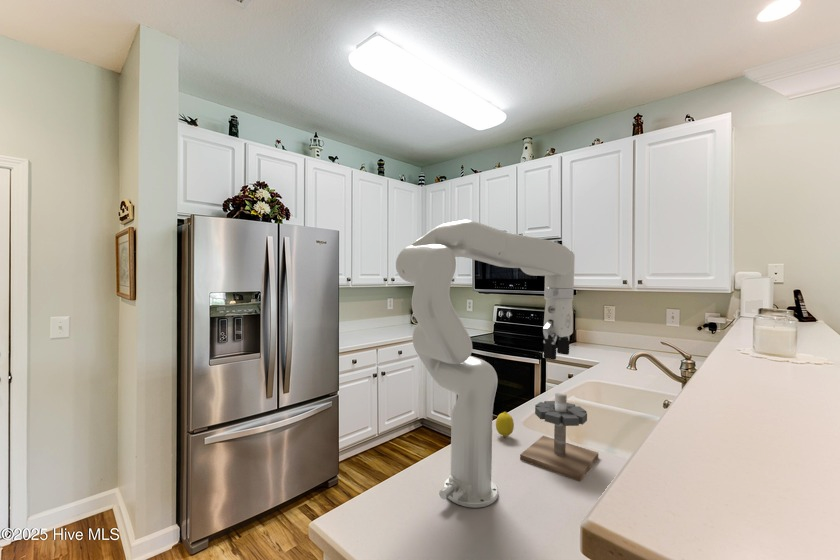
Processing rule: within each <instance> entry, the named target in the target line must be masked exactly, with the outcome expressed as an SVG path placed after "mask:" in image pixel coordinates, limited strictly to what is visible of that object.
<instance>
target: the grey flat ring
mask: <svg viewBox="0 0 840 560" xmlns="http://www.w3.org/2000/svg"><path fill="white" fill-rule="evenodd" d="M534 410H535V411H534V414H535V416H536V417H538V418H539V419H540V420H544V422H546V423H550V424H552V425H555V424H556V425H560V424H561V423H562V424H563V425H564V426H566V427H569V426H570V427H573V426H574V427H578V426H580V425H584V424H585V423H586V422H587V421H588V412H587V410H585V409H584V408H583V407H581V406H580V405H579V406H576V404H575V403H570V402H566V411H567V412H560V411H556V410H555V400H545V401H539V402H538V403H537V404H535V407H534Z"/></svg>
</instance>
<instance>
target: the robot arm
mask: <svg viewBox="0 0 840 560" xmlns="http://www.w3.org/2000/svg"><path fill="white" fill-rule="evenodd" d="M456 258H465V259H470V260H474V261H478V262H482V263H486V264H488V265H493V266H495V267H501V268H508V269H509V268H510V269H511V268H512V269H516V268H517V269H520V270H521V271H522V272H523V273H524V274H525V275H528V276H534V277H535V276H536V277H537V276H540V277H544V291H543V292H544V293H543V295H544V297H543V299H544V300H545V306H544V316H543V317H544V318H543V328H542V333H543V335H542V337H543V341H542V343H543V358H544V359H545V360H546V359H548V360H553V361H555V360H557V354H559V355H567V356H568V355H569V354H570V339H571V337H570V336H571V335H572V334H573V333H574V309H573V301H574V287H575V283H574V282H575V259H576V258H575V253H574V251H572V250H570V249H569V248H568V247H567V246H566V245H563V244H562V243H561V244H560V243H558V242H555V241H552V240H548V239H545V238H539V237H533V236H527V235H523V234H517V233H512V232H507V231H503V230H500V229H499V228H495V227H492V226H489V225H487V224H483V223H482V222H478V221H475V220H469V219H462V220H457V221H450V222H446V223H442V224H440V225H438V226H436V227H435V228H432V229H431V230H430V231H428V232H426V234H423V236H421V237H419V238H418V239H417V240H415V241H413V242H412V243H410V244H408V245H407V246H405V247H404V248H403V249H402V250H401V251H400V252H399V254H398V255H397V257H396V260H395V269H396V272H397V274H398V276H399V277H400V278H401V279H402V280H404V281H405V282H407V283H413V284H414V286H413V292H412V296H411V310H412V313H413V315H414V318H415V320H416V322H417V324H416V325H415V326H414V328H413V332H412V344H413V348H414V351H415V353H416V354H417V355H418V357H419V358H420V360H421V362H422V364H423V365H424V367H425V368H426V370H427V371H428V372H429V375H430V376H431V378H432V379H433V380H434V381H435V382H436V384H437V385H439V386H441V388H444V389H445V390H448V391H450V392H452V393H454V394H455V395H457V398H456V402H455V404H454V406H453V408H452V412H451V419H450V420H451V421H450V425H451V426H450V427H451V430H450V431H451V432H450V437H451V438H450V475H449V476H448V478H446V479H445V481H444V483H443V488H442V489H441V490H439V496H440V499H442V500H443V501H444V500H447V499H448V500H450V501H451V502H453V503H454V504H457V505H459V506H462V507H466V508H474V509H476V508H477V509H478V508H483V507H487V506H490V505H492V504H493V503H495V501H497V499H498V496H499V489H498V486H497V485H496V482H494V481H493V480H492V469H493V468H492V466H493V465H492V464H493V463H492V462H493V461H492V458H493V455H492V454H493V412H494V403H495V397H496V392H497V388H498V382H499V381H498V380H499V379H498V374H497V372H496V370H495V368H494V367H493V365H491V364H490V363H489V362H487V361H485V360H484V359H481V358H478V357H475V356H472V352H473V342H472V338H471V336H470V334H469V333H468V330H467V328H466V327H465V326H464V324H463V321H462V320H461V319H460V318H461V317H459V315H458V313H457V311H456V310H455V308H454V306H453V303H452V301H451V296H450V295H451V294H450V290H451V285H452V282H453V279H454V275H455V272H456V268H457V261H456ZM556 342H557V344H556Z"/></svg>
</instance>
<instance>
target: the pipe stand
mask: <svg viewBox="0 0 840 560" xmlns="http://www.w3.org/2000/svg"><path fill="white" fill-rule="evenodd" d="M554 401H555V410H556V411H560V412H567V411H566V403H568V402H567V401H568V400H567V394H565V393H563V392H562V393H561V392H556V393H555V394H554ZM553 425H554V426H553V427H554V428H553V429H554V432H553V433H554V436H553V437H554V438H551V437H548V436H546V435H542V436H540V437H539V438H538V439H537V440H536V441H534V442H533V443H532V444H530V446H528V447H527V448H526V449H525V450H524V451H523V452H521V453H520V455H519V460H520V461H522V462H525V463H529V464H530V465H532V466H536V467H540V468H542V469H545V470H547V471H549V472H552V473H555V474H558V475H561V476H565V477H567V478H569V479H572V480H575V481H577V482H581V481H582V480H583V479H584V477H585V476H586V474H587V473H588V472H589V471H590V469H592V467H593V465H594V464H595V463H596V461H598V459H599V452H598V451H594V450H591V449H588V448H585V447H582V446H579V445H575V444H572V443H569V442H566V439H567V437H566V436H567V426H564V425H563V424H562V423H561V424H560V425H556V424H553Z"/></svg>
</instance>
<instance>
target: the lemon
mask: <svg viewBox="0 0 840 560" xmlns="http://www.w3.org/2000/svg"><path fill="white" fill-rule="evenodd" d="M514 425H515V421H514V419H513V417H512V416H511V415H510V413H508V412H507V411H503V412H501V413H499V414H498V416H497V418H496V421H495V427H496V431H497V433H498V434H499V435H501V436H502V437H503V438H507V437H508V436H510V435H511V434H512V433H513V431H514V427H515V426H514Z"/></svg>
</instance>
